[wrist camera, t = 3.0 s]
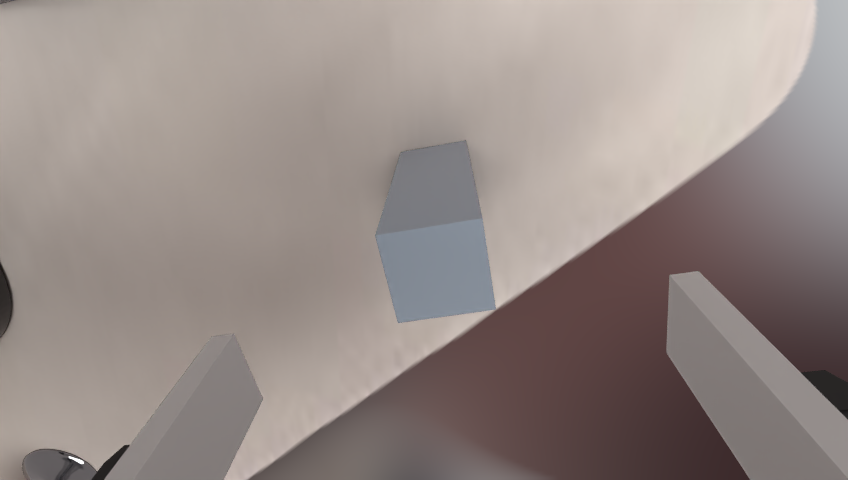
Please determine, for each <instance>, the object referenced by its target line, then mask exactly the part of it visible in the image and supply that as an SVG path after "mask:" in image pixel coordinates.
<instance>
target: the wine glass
mask: <svg viewBox="0 0 848 480" xmlns="http://www.w3.org/2000/svg"><path fill="white" fill-rule="evenodd" d="M22 471H23V474H24V476H25V478H26V479H27V480H91V479H92V478H93V477H94V475H95V474H96V473H97V471H96V470H95V469H94V468H93V467H92V466H91V465H89V464H88V463H87V462H85V461H84V460H82V459H81V458H79V457H77V456H75V455H72V454H70V453H67V452H63V451H59V450H52V449H43V450H37V451H34V452H31V453H29V454H28V455H27V456H26V457H25V458H24V460H23V462H22Z"/></svg>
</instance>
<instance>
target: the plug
mask: <svg viewBox="0 0 848 480" xmlns="http://www.w3.org/2000/svg"><path fill="white" fill-rule="evenodd" d="M375 237H376V241H377V244H378V248H379V252H380V256H381V260H382V263H383V267H384V271H385V275H386V279H387V283H388V286H389V290H390V294H391V298H392V302H393V306H394V309H395V313H396V317H397V321H398V323H402V322H409V321H416V320H423V319H430V318H438V317H445V316H452V315H459V314H466V313H474V312H481V311H488V310H495V309H496V307H495V300H494V293H493V287H492V280H491V273H490V266H489V260H488V253H487V246H486V239H485V233H484V226H483V219H482V214H481V209H480V205H479V200H478V195H477V190H476V186H475V181H474V176H473V171H472V167H471V162H470V157H469V152H468V147H467V143H466V140H465V141H460V142H454V143H449V144H443V145H438V146H432V147H427V148H421V149H415V150H410V151H404V152H401V153H400V156H399V160H398V163H397V166H396V170H395V173H394V176H393V179H392V183H391V186H390V189H389V192H388V196H387V199H386V202H385V205H384V209H383V212H382V215H381V218H380V222H379V225H378V228H377V231H376V235H375Z"/></svg>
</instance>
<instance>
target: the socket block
mask: <svg viewBox="0 0 848 480" xmlns="http://www.w3.org/2000/svg"><path fill="white" fill-rule="evenodd" d="M10 1H14V0H0V4H2V3H6V2H10Z"/></svg>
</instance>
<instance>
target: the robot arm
mask: <svg viewBox="0 0 848 480" xmlns="http://www.w3.org/2000/svg"><path fill="white" fill-rule="evenodd" d="M10 313H11V301H10V294H9V290H8V286H7V283H6V280H5V278H4V275H3V273H2V271H1V269H0V337H1V336H2V334H3V333H4V331H5V330H6V327H7V325H8V322H9V319H10ZM667 354H668V356H669V357H670V359H671V360H672V362H673V363H674V365H675V366H676V368H677V369H678V371H679V372H680V374H681V375H682V377H683V378H684V380H685V381H686V383H687V384H688V386H689V387H690V389H691V391H692V392H693V394H694V395H695V397H696V398H697V400H698V401H699V403H700V404H701V406H702V407H703V409H704V410H705V412H706V413H707V415H708V416H709V418H710V419H711V421H712V422H713V424H714V425H715V427H716V428H717V430H718V431H719V433H720V434H721V436H722V437H723V439H724V440H725V442H726V443H727V445H728V446H729V448H730V449H731V451H732V452H733V454H734V456H735V457H736V459H737V460H738V461H739V463H740V465H741V466H742V468H743V469H744V470H745V472H746V474H747V475H748V477H749V478H750V480H848V382H846V381H844V380H842V379H840V378H838V377H836V376H835V375H833V374H831V373H829V372H827V371H825V370H821V371H812V372H803V373H800V372H799V371H798V370H797V369H796V368H795V367H794V366H793V365H792V364H791V363H790V362H789V361H788V360H787V359H786V358H785V357H784V356H783V355H782V354H781V353H780V352H779V351H778V350H777V349H776V348H775V347H774V346H773V345H772V344H771V343H770V342H769V341H768V340H767V339H766V338H765V337H764V336H763V335H762V334H761V333H760V332H759V331H758V330H757V329H756V328H755V327H754V326H753V325H752V324H751V323H750V322H749V321H748V320H747V319H746V318H745V317H744V316H743V315H742V314H741V313H740V312H739V311H738V310H737V309H736V308H735V307H734V306H733V305H732V304H731V303H730V302H729V301H728V300H727V299H726V298H725V297H724V296H723V295H722V294H721V293H720V292H719V291H718V290H717V289H716V288H715V287H714V286H713V285H712V284H711V283H710V282H709V281H708V280H707V279H706V278H705V277H704V276H703V275H702V274H701V273H700V272H699V271H697V272H689V273H682V274H675V275H670V278H669V302H668V327H667ZM262 400H263V397H262V395H261V393H260V391H259V388H258V386H257V384H256V382H255V379H254V377H253V375H252V373H251V371H250V368H249V366H248V364H247V362H246V359H245V357H244V355H243V353H242V350H241V348H240V346H239V344H238V342H237V339H236V337H235V335H234V334H228V335H220V336H213V337H211V338H210V339H209V341H208V342H207V343H206V345H205V346H204V347H203V349H202V350H201V351H200V353H199V354H198V355H197V357H196V358H195V359H194V361H193V362H192V363H191V365H190V366H189V367H188V369H187V370H186V371H185V373H184V374H183V375H182V377H181V378H180V379H179V381H178V382H177V383H176V385H175V386H174V387H173V389H172V390H171V391H170V393H169V394H168V395H167V397H166V398H165V399H164V401H163V402H162V403H161V405H160V406H159V407H158V409H157V410H156V411H155V413H154V414H153V415H152V417H151V418H150V419H149V421H148V422H147V423H146V425H145V426H144V427H143V429H142V430H141V431H140V433H139V434H138V435H137V437H136V438H135V439H134V441H133V442H132V443H131V444H130V445H124V446H123V447H122V448H121V449H120V450H119V451H117V452H116V453H115V454H114V455H113V456H112V457H111V458H109V459H108V460H107V461H106V462H105V463H104V464H103V465H102V466H101V468H100V469H99V470H98V472H97V473H96V474H95V475H94V477H93V478H92V479H91V480H224V478H225V476H226V474H227V472H228V470H229V468H230V466H231V463H232V461H233V459H234V457H235V455H236V453H237V451H238V449H239V447H240V445H241V443H242V441H243V439H244V437H245V435H246V433H247V431H248V429H249V427H250V425H251V423H252V421H253V419H254V417H255V415H256V413H257V410H258V408H259V406H260V404H261V402H262Z"/></svg>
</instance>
